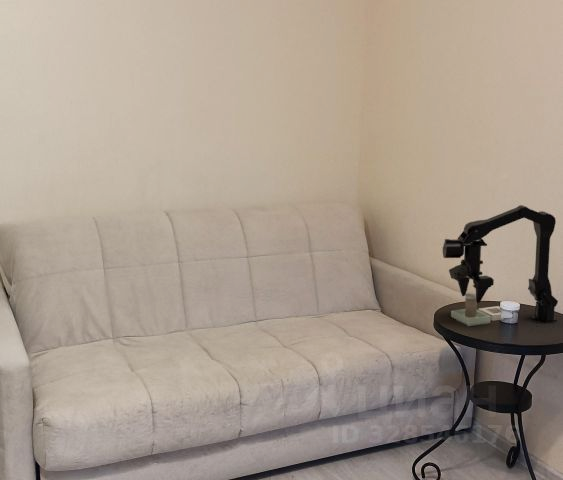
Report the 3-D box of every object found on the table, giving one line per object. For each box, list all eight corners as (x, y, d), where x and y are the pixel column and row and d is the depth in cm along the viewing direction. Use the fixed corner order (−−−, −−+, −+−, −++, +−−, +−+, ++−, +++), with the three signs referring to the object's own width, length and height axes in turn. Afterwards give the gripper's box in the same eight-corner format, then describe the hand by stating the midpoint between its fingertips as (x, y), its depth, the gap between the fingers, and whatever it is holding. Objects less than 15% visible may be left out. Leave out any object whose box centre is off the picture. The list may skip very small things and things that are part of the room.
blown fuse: (478, 319, 250) (479, 295, 248) (468, 320, 248) (469, 297, 247) (471, 316, 253) (472, 292, 252) (462, 317, 252) (463, 294, 250)
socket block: (513, 317, 253) (513, 312, 252) (492, 320, 250) (492, 315, 250) (498, 311, 261) (498, 306, 261) (477, 313, 258) (478, 308, 258)
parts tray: (490, 323, 247) (490, 316, 247) (468, 326, 244) (468, 319, 244) (472, 314, 258) (472, 308, 257) (451, 317, 255) (451, 310, 254)
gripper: (438, 254, 252) (437, 295, 256) (468, 265, 235) (466, 308, 238) (464, 251, 256) (463, 292, 259) (495, 262, 239) (493, 305, 242)
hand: (470, 299), depth 249 cm, fingers open, 9 cm apart
